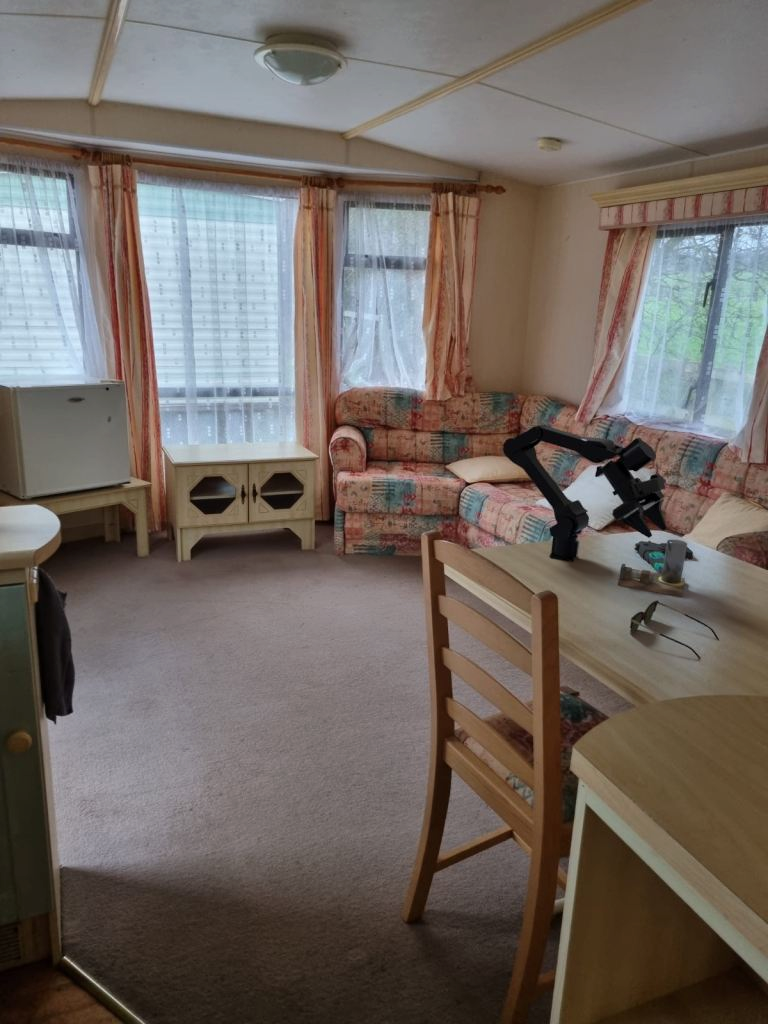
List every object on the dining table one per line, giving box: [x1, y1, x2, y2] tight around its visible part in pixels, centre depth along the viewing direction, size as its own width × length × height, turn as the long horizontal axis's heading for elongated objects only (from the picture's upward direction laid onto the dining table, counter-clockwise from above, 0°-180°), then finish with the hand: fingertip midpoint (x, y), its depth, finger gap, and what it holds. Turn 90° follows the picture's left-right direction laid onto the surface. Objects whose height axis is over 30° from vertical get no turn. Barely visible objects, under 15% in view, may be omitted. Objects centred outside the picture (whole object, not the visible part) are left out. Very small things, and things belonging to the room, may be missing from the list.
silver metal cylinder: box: [661, 539, 688, 584], centre depth 177 cm, size 5×5×10 cm
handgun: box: [634, 540, 694, 574], centre depth 196 cm, size 4×26×15 cm
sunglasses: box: [629, 600, 720, 659], centre depth 149 cm, size 14×15×5 cm
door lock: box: [617, 563, 685, 597], centre depth 179 cm, size 15×11×4 cm
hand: (658, 533), depth 178 cm, fingers open, 9 cm apart
